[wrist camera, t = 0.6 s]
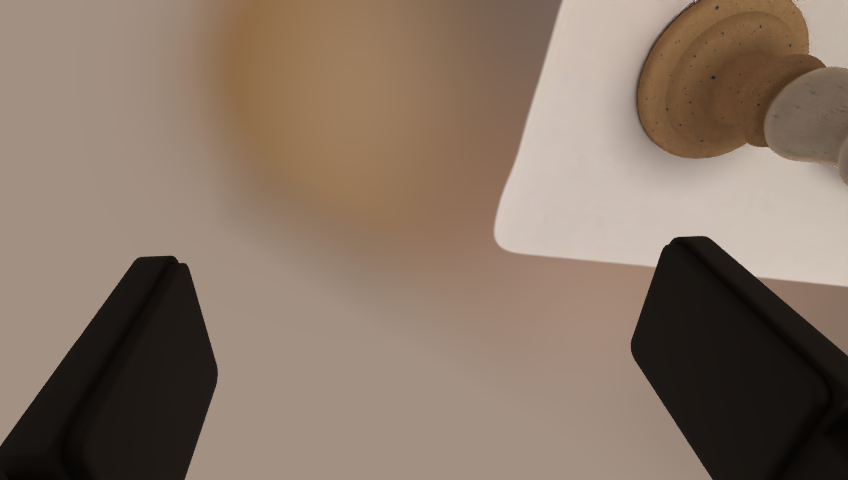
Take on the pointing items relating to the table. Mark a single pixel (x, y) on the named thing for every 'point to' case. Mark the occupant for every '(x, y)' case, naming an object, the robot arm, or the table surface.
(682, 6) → the table surface
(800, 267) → the table surface
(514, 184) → the table surface
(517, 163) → the table surface
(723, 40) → the candle holder
